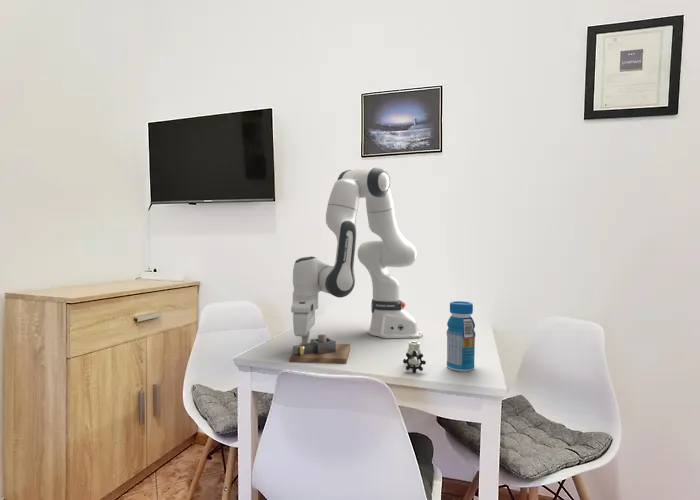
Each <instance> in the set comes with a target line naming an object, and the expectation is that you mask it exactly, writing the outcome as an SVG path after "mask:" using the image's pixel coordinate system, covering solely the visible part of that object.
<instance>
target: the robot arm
mask: <svg viewBox="0 0 700 500" xmlns="http://www.w3.org/2000/svg"><path fill="white" fill-rule="evenodd" d="M390 186H391V178H390V175H389V173H388V172H387V170H385V169H384V168H381V167H360V168H355V169H347V170H344V171H343V172H341V173H340V174H339V175H338V177H337V179H336V181H335V182H334V185H333V187H332V190H331V191H330V195H329V199H328V201H327V207H326V213H325V224H326V226H327V227H328V228H329V230H330V231H331V232H332V233H333V234H334V235H335V237H336V240H337V241H336V242H337V245H336V254H335V261H334V265H333V266H332V265H329V264H326V263H324V262H322V261H321V260H319V259H318V258H317V257H315V256H304V257H300V258H298V259H296V260H295V262H294V264H293V269H292V285H293V292H292V304H291V309H290V312H291V313H292V323H293V325H292V326H293V333H294V336H295V337H301V343H302V344H307V343H309V342H310V339H309V338H310V333H311V332H310V331H311V329H312V328H313V326H315V323H316V311H315V310H318V309H319V292H323V293H326V294H329V295H331V296H333V297H336V298H339V299H340V298H344V297H347V296H348V295H350V294H351V293H352V291H353V290H354V287H355V285H356V277H355V269H354V266H355V265H354V263H355V253H356V244H357V228H356V226H357V225H356V224H357V222H356V221H357V215H358V208H359V203H360V198H361V199H363V198H365V207H366V215H367V221H368V227H369V230H370V231H371V232H372V233H374V235H377V236H378V237H379V238H380V240H370V241H365V242H362V243H360V245H359V246H358V249H357V259H358V260H359V263H361V264H362V266H363V267H365V269H366V270H367V272H368V273H369V275H370V280H371V284H372V285H371V287H372V299H371V306H370V308H371V318H370V319H371V321H370V325H369V326H370V327H369V329H368V334H369V335H371V336H375V337H379V338H382V339H419V338H422V337H423V335H424V333H423V331H422V330H421V329H419V328H418V323H417V320H416V318H414V316H413V315H411V314H410V313H409V312H408V311H407V310H405V307H406V303H405V302H404V301H403V300H401V299H400V282H399V281H398V279H397V278H396V277H394V276H393V275H391V273H390V272H389V270H388V268H404V267H405V268H406V267H410V266H412V265H413V264H414V263H415V261H416V259H417V250H416V247H415V245H414V244H413V243H412V242H410V241H409V240H408V239H406V237H405V236H404V235H403V234H402V233H401V231H400V229H399V227H398V224H397V219H396V215H395V207H394V200H393V197H392V192H391V189H390Z"/></svg>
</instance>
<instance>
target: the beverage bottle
mask: <svg viewBox="0 0 700 500" xmlns="http://www.w3.org/2000/svg"><path fill="white" fill-rule="evenodd" d="M473 305H474V304H473V303H472V302H470V301H462V300H461V301H460V300H459V301H458V300H455V301H454V300H453V301H450V302H449V313H450V314H451V315H450V316H449V318H448V320H447V324H446V325H447V330H446V367H447V368H448V369H449V370H452V371H454V372H461V373H462V372H463V373H464V372H472V371H473V370H475V354H476V353H475V351H476V350H475V347H476V345H475V344H476V331H475V327H476V324H475V321H474V319H473V318H472V316H471V315H473V310H474V306H473Z"/></svg>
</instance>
